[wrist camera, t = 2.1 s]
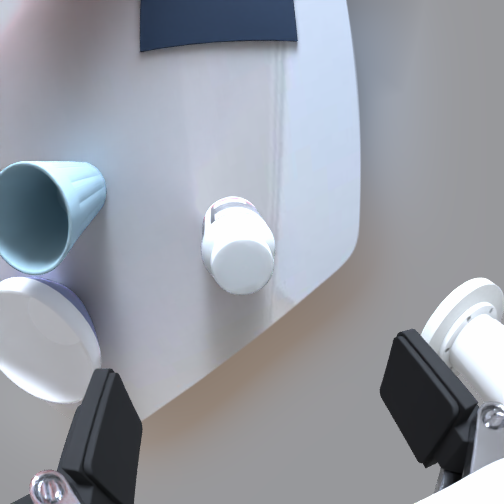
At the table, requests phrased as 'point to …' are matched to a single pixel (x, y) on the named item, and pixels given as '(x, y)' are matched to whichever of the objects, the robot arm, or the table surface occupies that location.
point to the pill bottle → (237, 246)
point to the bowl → (46, 339)
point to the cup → (46, 211)
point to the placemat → (214, 22)
